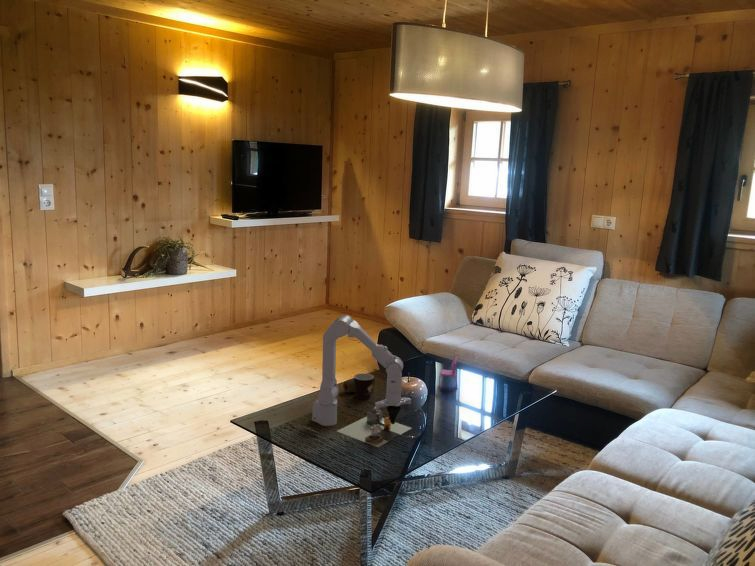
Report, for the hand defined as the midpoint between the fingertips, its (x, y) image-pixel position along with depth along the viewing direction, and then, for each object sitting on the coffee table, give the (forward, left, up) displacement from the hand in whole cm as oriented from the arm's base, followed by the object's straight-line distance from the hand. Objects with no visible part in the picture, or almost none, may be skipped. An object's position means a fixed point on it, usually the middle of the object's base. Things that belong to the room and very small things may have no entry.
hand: (392, 423), depth 237 cm
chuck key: (+1, -13, -3) cm, 13 cm away
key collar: (+1, -13, -3) cm, 13 cm away
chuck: (-9, 0, -3) cm, 9 cm away
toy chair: (-9, +57, -4) cm, 58 cm away
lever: (-3, -1, -2) cm, 4 cm away
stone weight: (-37, +25, -4) cm, 45 cm away
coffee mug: (-29, +20, -4) cm, 36 cm away
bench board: (-5, -5, -3) cm, 8 cm away
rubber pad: (+1, -6, -3) cm, 6 cm away
